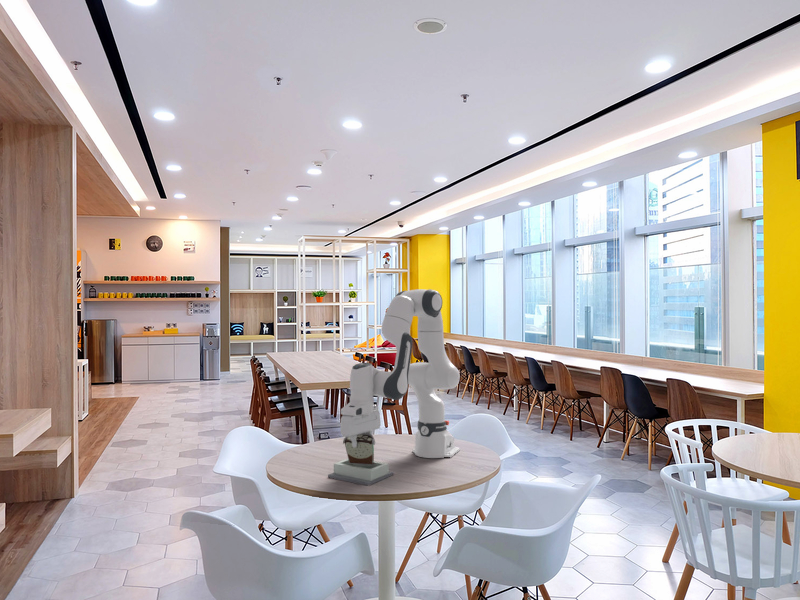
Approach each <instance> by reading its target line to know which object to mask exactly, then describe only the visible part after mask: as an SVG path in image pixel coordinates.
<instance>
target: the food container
mask: <svg viewBox="0 0 800 600" xmlns="http://www.w3.org/2000/svg"><path fill="white" fill-rule="evenodd" d="M356 441H357V442H358V447H356V448H354V447H352V441H351V439H350V437H344V438H343V440H342V444H343V445H344V447H345V450H346V456H347V459H348V460H349V464H361V465H373V464H374V461H375V460H374V459H375V454H374V452H375V451H374V447H375V446H376V440H375V438H374V436H373V434H372V435H371V434H369V433H362V434H359V435H357V438H356Z"/></svg>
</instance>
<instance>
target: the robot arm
mask: <svg viewBox="0 0 800 600" xmlns="http://www.w3.org/2000/svg"><path fill="white" fill-rule="evenodd" d="M442 308H443V298H442V295H441V293H440V292H439V291H437V290H435V289H431V288H428V289H418V288H417V289H411V290H403V291H400V292H397V294H396V295H395V296H394V297H393V298H392V300H391V301H390V303H389V305H388V307H387V310H386V312H385V314H384V318H383V321H382V324H381V334H382V336H383V338H384V339H385V340H387V342H388V343H391V344H392V345H394V346H395V348H396V354H395V361H394V367H393V370H392V371H383V370H380V369H378V368H376V367H374V366H373V364H372V363H369V362H362V363H361V362H359V363H357V364H354V365H352V368H351V369H350V376H349V379H350V380H349V389H350V390H349V391H350V395H349V402H348V403H347V404H346V405H345V406H343V407H342V408H341V409H340V415H342V416H341V418H340V435H341V436H342V437H344V438H345V437H350V439H351V441H352V447H354V448H356V447H358V442H357V441H356V438H357V435H359V434H362V433H369V434H371V435H372V436H373V431H376V430H379V429H380V428H381V414H380V411H379V407H378V405H377V404H374V396H375V397H381V398H387V399H390V400H394V401H399V400H401V399H402V398H403V397H404V396H405V395H406V394H407V392H408V389H409V386H410V388H412V390H413V392H414V395H415V396H416V400H417V406H418V421H417V431H416V433H415V438H414V448H412V453H413V454H414V455H415V456H417V457H420V458H424V459H441V458H443V459H444V457H450V458H452V457H454V456H455V455H456V454H457V453H459V451H461V449H460V447H458V446H456V445H455V436H453V435H452V434H451V433H450V432H449V430H448V429H447V426H449V425H450V421H449V420H445V410H446V409H445V408H446V407H445V402H444V401H443V399H441V398H440V397H439V396H438V395H437V394H436V391H435V390H441V391H445V390H451V389H455V388H457V386H458V384H459V382H460V377H461V375H460V371H459V369H458V367H456V366H455V365H454V364H453V363H452V362H451V360H450V358H449V357H448V355H447V351H446V349H445V348H446V347H445V340H444V339H445V338H444V322H443V321H444V320H443V316H442V311H441V310H442ZM414 317H417V347H418V350H419V352H420V353H422V354H423V355H424V356H425V357H426V359H427V361H428V362H424V361H423V362H421V361H419V362H418V361H417V362H413V363H411V358H412V351H413V338H412V336H411V334H410V332H411V331H410V330H411V326H412V322H413V318H414ZM455 453H456V454H455ZM454 454H455V455H454Z"/></svg>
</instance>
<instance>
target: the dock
mask: <svg viewBox="0 0 800 600" xmlns="http://www.w3.org/2000/svg"><path fill="white" fill-rule="evenodd" d="M389 466H390V465H389V463H386V462H381V461H375V460H374V464H373V465H361V464H349V460H348V458H346V459H343V460H340V461H337V462H335V463H333V472H332V473H329V474H327V477H328V478H329V477H330V479H333V478H334V479H335V480H339V481H344V482H349V483H353V484H357V485H363V486H366V485H367V486H366V487H369V486H371V485H373V484H376V483H378V482H380V481H383V480H385V479H386V478H389V476H390V477H391V476H393V475H394V471H390V469H389Z"/></svg>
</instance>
